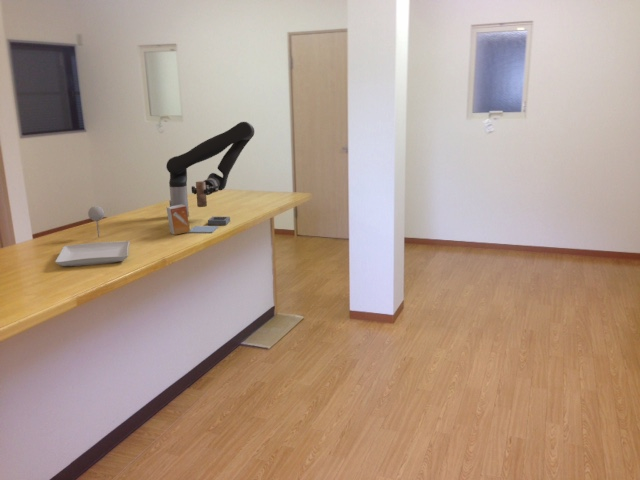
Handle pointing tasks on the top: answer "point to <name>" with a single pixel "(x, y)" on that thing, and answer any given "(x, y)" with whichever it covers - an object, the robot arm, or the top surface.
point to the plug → (201, 194)
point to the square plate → (93, 253)
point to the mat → (203, 229)
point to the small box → (178, 219)
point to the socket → (218, 220)
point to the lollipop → (96, 215)
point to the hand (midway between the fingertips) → (199, 192)
